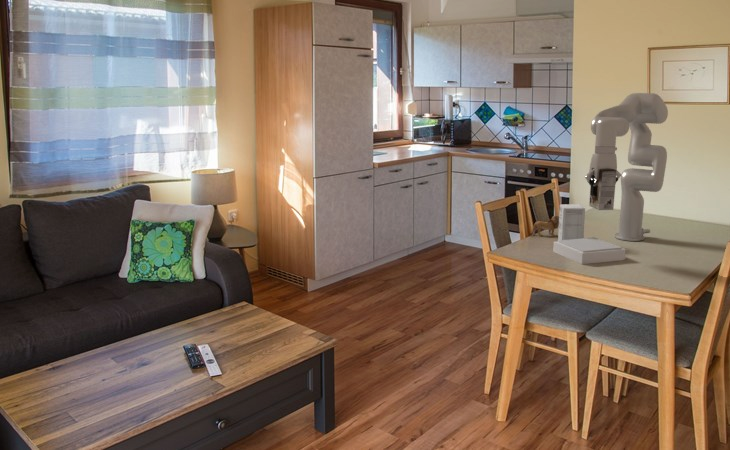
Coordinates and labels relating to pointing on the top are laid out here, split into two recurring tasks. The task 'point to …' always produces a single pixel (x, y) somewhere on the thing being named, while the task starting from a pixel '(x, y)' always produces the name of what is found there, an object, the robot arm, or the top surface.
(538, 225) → the lion figurine
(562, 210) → the supplement box
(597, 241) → the square tray
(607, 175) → the coffee box
